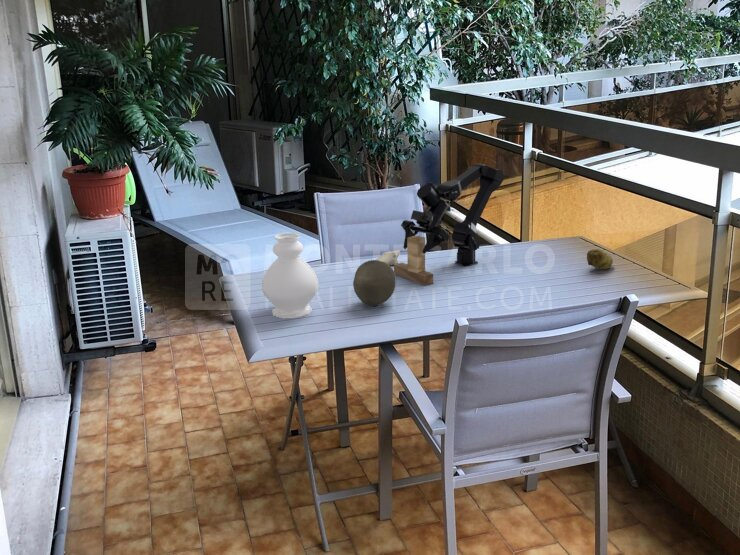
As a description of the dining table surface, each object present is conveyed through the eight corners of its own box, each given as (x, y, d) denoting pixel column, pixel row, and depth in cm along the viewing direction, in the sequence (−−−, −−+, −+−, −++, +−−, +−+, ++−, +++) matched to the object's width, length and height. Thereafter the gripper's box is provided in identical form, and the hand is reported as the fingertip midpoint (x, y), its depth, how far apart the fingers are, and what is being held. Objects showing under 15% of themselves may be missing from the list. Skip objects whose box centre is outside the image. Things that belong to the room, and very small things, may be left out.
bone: (383, 249, 287) (387, 262, 288) (354, 269, 271) (358, 283, 273) (399, 248, 282) (403, 261, 284) (371, 268, 267) (375, 282, 268)
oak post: (415, 267, 266) (415, 235, 262) (425, 270, 263) (425, 237, 259) (407, 270, 263) (407, 237, 259) (416, 273, 260) (416, 239, 256)
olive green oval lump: (621, 269, 270) (623, 247, 267) (594, 274, 264) (596, 253, 262) (605, 263, 277) (607, 242, 274) (578, 268, 272) (580, 247, 269)
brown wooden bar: (402, 271, 274) (402, 262, 273) (433, 283, 260) (433, 273, 259) (393, 273, 272) (393, 264, 271) (424, 285, 257) (424, 276, 256)
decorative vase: (272, 325, 225) (267, 246, 217) (257, 307, 241) (251, 233, 233) (327, 315, 232) (324, 238, 224) (309, 299, 247) (305, 226, 240)
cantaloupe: (345, 303, 242) (343, 259, 237) (382, 295, 249) (381, 252, 244) (366, 316, 230) (365, 270, 226) (405, 307, 237) (404, 263, 232)
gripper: (404, 197, 265) (382, 233, 261) (444, 204, 252) (422, 242, 248) (419, 215, 272) (398, 250, 268) (458, 223, 259) (437, 260, 255)
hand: (413, 250), depth 260 cm, fingers open, 9 cm apart
